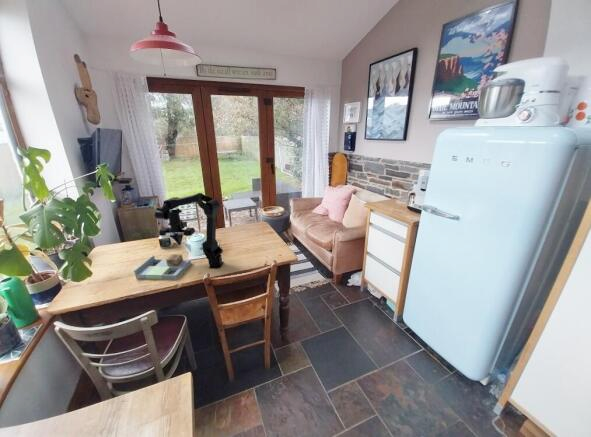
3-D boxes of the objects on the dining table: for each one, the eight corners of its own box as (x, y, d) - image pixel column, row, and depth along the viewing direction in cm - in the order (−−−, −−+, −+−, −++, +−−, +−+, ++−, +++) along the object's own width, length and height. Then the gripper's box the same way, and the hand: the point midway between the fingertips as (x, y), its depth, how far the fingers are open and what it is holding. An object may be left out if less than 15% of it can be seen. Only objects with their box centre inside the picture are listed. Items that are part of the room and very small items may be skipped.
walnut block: (183, 260, 142) (181, 254, 140) (177, 266, 136) (176, 259, 135) (173, 260, 142) (171, 254, 141) (167, 265, 136) (166, 259, 135)
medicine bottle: (160, 248, 162) (156, 232, 158) (162, 243, 168) (159, 228, 164) (172, 246, 164) (168, 230, 159) (173, 242, 170) (170, 226, 166)
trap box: (191, 263, 143) (189, 256, 141) (176, 279, 128) (175, 271, 126) (154, 262, 145) (152, 255, 143) (136, 278, 130) (133, 270, 128)
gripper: (197, 215, 143) (201, 238, 149) (167, 215, 145) (172, 238, 150) (188, 222, 133) (193, 247, 138) (155, 222, 134) (161, 247, 140)
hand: (180, 244), depth 142 cm, fingers closed
